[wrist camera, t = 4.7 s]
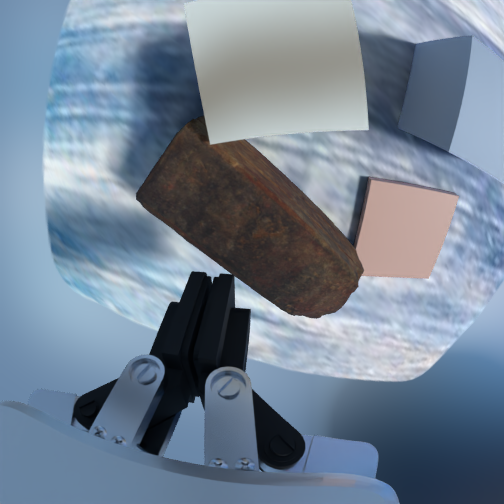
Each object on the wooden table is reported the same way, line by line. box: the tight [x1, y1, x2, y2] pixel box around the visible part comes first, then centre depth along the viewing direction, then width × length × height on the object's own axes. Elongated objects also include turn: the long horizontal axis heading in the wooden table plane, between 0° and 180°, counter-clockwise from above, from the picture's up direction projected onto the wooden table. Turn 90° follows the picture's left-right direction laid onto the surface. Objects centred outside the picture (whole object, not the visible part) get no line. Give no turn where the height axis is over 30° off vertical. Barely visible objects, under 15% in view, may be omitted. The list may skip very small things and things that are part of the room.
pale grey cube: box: [184, 0, 369, 145], centre depth 9 cm, size 5×5×5 cm
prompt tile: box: [354, 177, 459, 278], centre depth 14 cm, size 6×6×1 cm
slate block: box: [397, 36, 504, 184], centre depth 8 cm, size 5×5×5 cm
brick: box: [136, 116, 364, 319], centre depth 13 cm, size 11×4×5 cm, turn 48°
